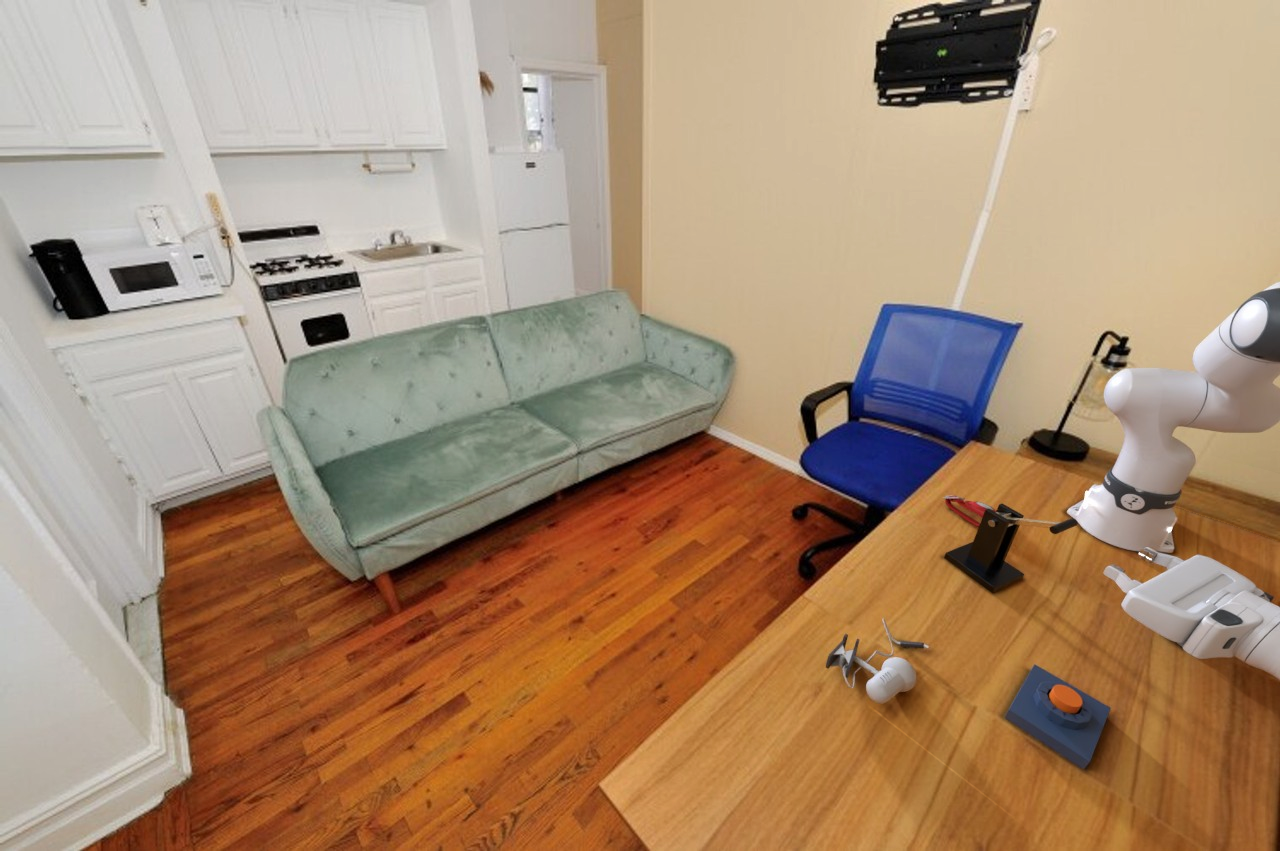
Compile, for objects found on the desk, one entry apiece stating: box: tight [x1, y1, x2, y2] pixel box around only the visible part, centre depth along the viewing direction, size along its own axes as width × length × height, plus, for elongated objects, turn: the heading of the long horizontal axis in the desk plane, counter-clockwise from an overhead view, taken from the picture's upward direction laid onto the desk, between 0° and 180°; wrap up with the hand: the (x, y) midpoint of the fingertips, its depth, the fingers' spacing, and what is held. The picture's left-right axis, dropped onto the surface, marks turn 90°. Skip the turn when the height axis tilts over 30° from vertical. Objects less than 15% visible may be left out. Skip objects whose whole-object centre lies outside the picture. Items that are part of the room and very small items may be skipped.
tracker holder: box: [942, 494, 997, 527], centre depth 121 cm, size 12×4×10 cm
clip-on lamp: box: [825, 617, 930, 705], centre depth 85 cm, size 12×6×18 cm
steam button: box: [1049, 685, 1083, 714], centre depth 76 cm, size 4×4×2 cm
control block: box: [1004, 663, 1112, 770], centre depth 77 cm, size 12×10×4 cm
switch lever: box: [996, 512, 1079, 535], centre depth 95 cm, size 13×6×2 cm, turn 22°
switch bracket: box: [943, 503, 1026, 594], centre depth 103 cm, size 11×9×15 cm
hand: (1124, 559), depth 82 cm, fingers open, 8 cm apart
